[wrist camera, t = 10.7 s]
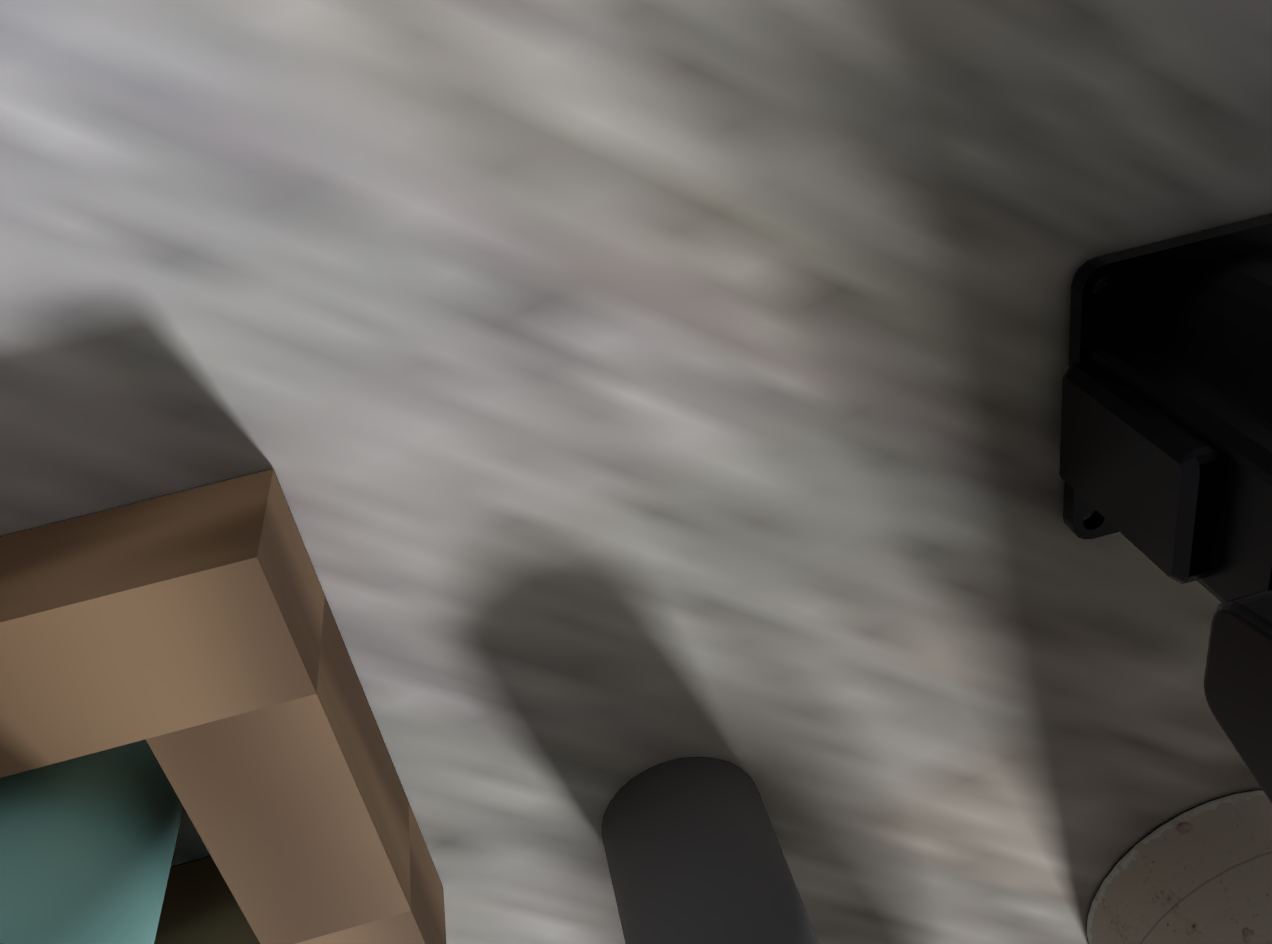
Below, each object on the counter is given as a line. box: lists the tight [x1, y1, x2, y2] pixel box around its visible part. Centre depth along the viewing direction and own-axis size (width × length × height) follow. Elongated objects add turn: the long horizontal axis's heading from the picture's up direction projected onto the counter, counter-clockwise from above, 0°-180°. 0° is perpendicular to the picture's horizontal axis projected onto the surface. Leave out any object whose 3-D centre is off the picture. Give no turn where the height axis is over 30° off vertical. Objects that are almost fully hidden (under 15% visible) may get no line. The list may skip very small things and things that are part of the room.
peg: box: [0, 739, 183, 944], centre depth 20 cm, size 4×4×6 cm
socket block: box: [0, 469, 446, 944], centre depth 22 cm, size 12×12×3 cm
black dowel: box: [602, 757, 819, 944], centre depth 24 cm, size 4×4×6 cm
